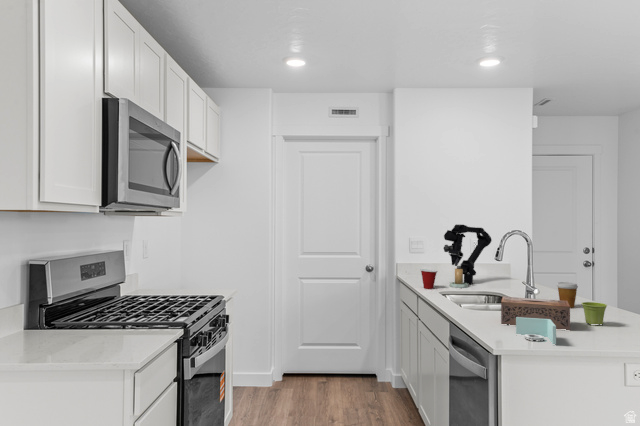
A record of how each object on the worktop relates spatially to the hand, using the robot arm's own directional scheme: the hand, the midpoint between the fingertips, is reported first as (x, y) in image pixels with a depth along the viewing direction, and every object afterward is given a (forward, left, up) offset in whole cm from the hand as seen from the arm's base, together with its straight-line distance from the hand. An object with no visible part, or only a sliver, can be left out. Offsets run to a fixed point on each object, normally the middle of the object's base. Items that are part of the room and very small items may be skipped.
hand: (454, 265), depth 317 cm
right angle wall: (+104, +99, -14) cm, 144 cm away
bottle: (+4, +6, -12) cm, 15 cm away
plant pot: (+58, +104, -13) cm, 120 cm away
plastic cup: (+26, -2, -13) cm, 30 cm away
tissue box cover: (+77, +87, -14) cm, 117 cm away
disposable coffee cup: (+25, +81, -13) cm, 86 cm away
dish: (+5, +6, -13) cm, 15 cm away
